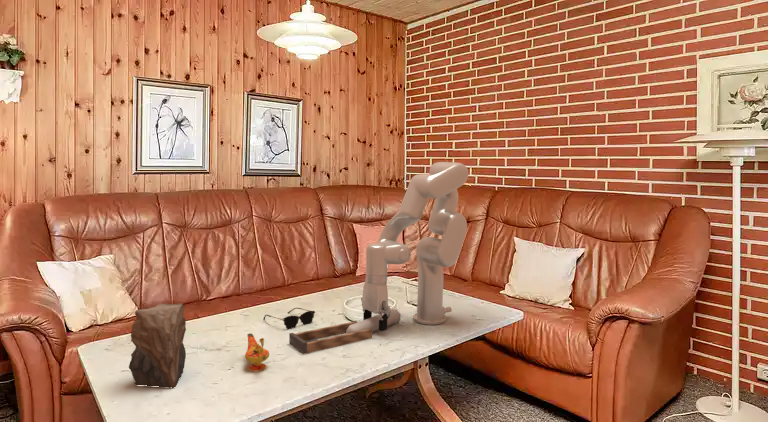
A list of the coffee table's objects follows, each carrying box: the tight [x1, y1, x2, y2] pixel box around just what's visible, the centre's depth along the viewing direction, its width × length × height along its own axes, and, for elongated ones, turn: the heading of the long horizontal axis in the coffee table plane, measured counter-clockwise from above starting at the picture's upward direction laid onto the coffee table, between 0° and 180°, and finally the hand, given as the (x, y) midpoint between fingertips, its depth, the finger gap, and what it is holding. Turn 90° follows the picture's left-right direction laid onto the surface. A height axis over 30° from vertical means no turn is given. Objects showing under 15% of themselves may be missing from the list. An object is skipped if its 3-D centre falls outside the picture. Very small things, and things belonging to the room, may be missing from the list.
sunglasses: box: [263, 307, 316, 330], centre depth 188 cm, size 14×16×5 cm
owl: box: [128, 302, 187, 389], centre depth 139 cm, size 13×13×20 cm
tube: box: [345, 308, 402, 334], centre depth 180 cm, size 5×5×25 cm
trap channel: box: [288, 320, 373, 355], centre depth 169 cm, size 26×10×4 cm, turn 125°
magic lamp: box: [244, 333, 270, 372], centre depth 149 cm, size 7×18×11 cm, turn 27°
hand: (374, 326), depth 179 cm, fingers open, 9 cm apart
